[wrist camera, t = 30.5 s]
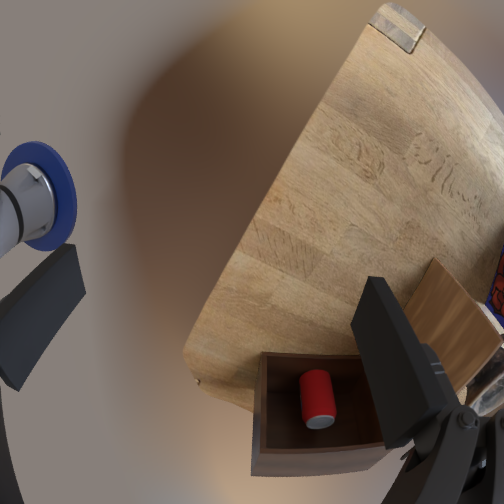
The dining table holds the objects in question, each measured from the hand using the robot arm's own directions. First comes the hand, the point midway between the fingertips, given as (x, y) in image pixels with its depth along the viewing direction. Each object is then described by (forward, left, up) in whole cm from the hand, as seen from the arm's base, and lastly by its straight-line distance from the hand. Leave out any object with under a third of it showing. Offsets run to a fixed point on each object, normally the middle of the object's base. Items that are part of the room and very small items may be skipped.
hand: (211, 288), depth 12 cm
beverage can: (+18, -41, -28) cm, 53 cm away
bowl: (+70, -40, -29) cm, 86 cm away
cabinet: (+18, -42, -29) cm, 54 cm away
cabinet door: (+35, -23, -29) cm, 50 cm away
